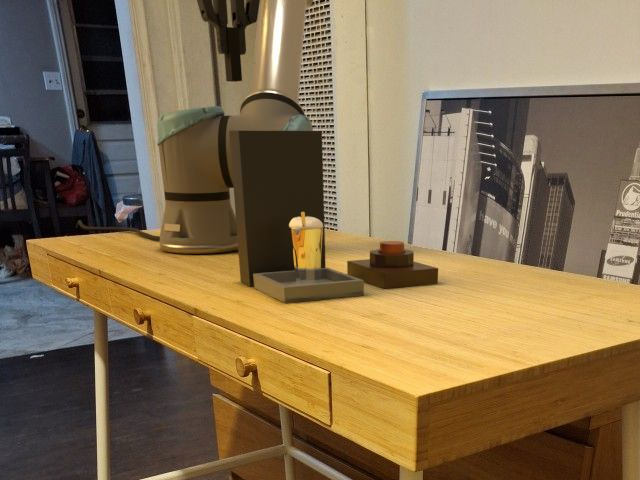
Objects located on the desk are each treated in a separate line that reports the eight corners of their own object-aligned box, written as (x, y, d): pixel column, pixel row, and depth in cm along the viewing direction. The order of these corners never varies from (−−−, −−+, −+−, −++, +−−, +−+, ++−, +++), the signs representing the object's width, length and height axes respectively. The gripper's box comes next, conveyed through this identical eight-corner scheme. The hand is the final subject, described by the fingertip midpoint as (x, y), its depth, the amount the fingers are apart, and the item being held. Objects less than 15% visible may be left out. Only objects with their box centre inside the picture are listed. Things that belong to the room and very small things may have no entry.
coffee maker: (240, 282, 111) (228, 130, 102) (315, 275, 116) (310, 130, 107) (283, 303, 98) (274, 131, 89) (365, 295, 103) (364, 131, 94)
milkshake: (289, 290, 102) (285, 211, 98) (294, 283, 107) (290, 207, 103) (322, 291, 102) (320, 212, 98) (326, 283, 107) (324, 208, 103)
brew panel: (347, 275, 117) (346, 248, 115) (397, 271, 120) (398, 244, 119) (384, 288, 107) (384, 259, 105) (438, 283, 111) (439, 255, 109)
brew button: (375, 254, 113) (375, 241, 112) (396, 252, 114) (396, 240, 114) (387, 257, 110) (387, 244, 109) (408, 255, 112) (408, 243, 111)
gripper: (177, -141, 93) (197, 78, 104) (276, -125, 99) (285, 81, 110) (162, -125, 99) (182, 80, 110) (256, -111, 105) (267, 83, 116)
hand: (234, 80), depth 110 cm, fingers closed
